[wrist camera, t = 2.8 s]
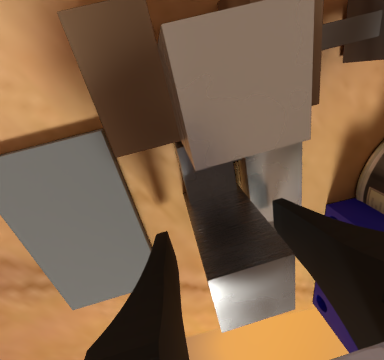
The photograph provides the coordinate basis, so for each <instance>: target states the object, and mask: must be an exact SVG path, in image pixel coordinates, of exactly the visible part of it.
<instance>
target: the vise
mask: <svg viewBox="0 0 384 360" xmlns="http://www.w3.org/2000/svg"><path fill="white" fill-rule="evenodd" d="M259 1H263V0H220V1H219V2H218V3H217V4H218V11H220V10H225V9H229V8H233V7H238V6H242V5H246V4H250V3H255V2H259ZM323 2H324V0H314V34H313V69H312V104H311V106H313V105H317V104H319V93H320V71H321V50H325V49H329V48H333V47H337V46H341V45H344V54H343V63H348V62H360V61H372V60H384V0H348V6H347V18H346V19H343V20H338V21H334V22H330V23H326V24H323ZM57 14H58V16H59V19H60V21H61V24H62V26H63V29H64V31H65V34H66V36H67V39H68V41H69V43H70V46H71V48H72V51H73V53H74V56H75V58H76V61H77V63H78V66H79V68H80V71H81V73H82V76H83V78H84V81H85V83H86V85H87V88H88V90H89V93H90V95H91V98H92V100H93V103H94V105H95V108H96V110H97V113H98V115H99V118H100V120H101V123H102V125H103V127H104V130H105V132H106V135H107V137H108V140H109V142H110V145H111V147H112V150H113V152H114V155H115V157H116V158H117V157H121V156H125V155H128V154H132V153H136V152H140V151H143V150H147V149H151V148H155V147H158V146H162V145H166V144H170V143H174V142H177V141H181V139H180V135H179V131H178V127H177V123H176V119H175V115H174V111H173V107H172V103H171V99H170V95H169V91H168V87H167V83H166V79H165V75H164V71H163V67H162V63H161V59H160V55H159V51H158V47H157V43H156V39H155V35H154V31H153V27H152V23H151V19H150V15H149V11H148V7H147V3H146V0H108V1H103V2H99V3H94V4H90V5H85V6H81V7H76V8H72V9H67V10H63V11H59V12H57Z"/></svg>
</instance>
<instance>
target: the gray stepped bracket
mask: <svg viewBox="0 0 384 360" xmlns="http://www.w3.org/2000/svg"><path fill="white" fill-rule="evenodd" d="M174 147H175V151H176V154H177V158H178V162H179V166H180V169H181V173H182V177H183V181H184V184H185V188H186V192H185V193H183V195H184V199H185V202H186V206H187V210H188V213H189V217H190V221H191V224H192V228H193V231H194V235H195V239H196V242H197V246H198V249H199V253H200V256H201V260H202V263H203V267H204V271H205V274H206V278H207V281H208V285H209V288H210V292H211V295H212V299H213V303H214V306H215V310H216V313H217V317H218V320H219V324H220V328H221V331H222V332H226V331H229V330H232V329H235V328H238V327H242V326H244V325H248V324H251V323H254V322H257V321H260V320H263V319H266V318H269V317H273V316H276V315H279V314H282V313H285V312H288V311H291V310H294V309H295V254H294V252H293V251H292V250H291V249H290V248H289V246H288V245H287V244H286V243H285V241H284V240H283V239H282V238H281V237H280V235H279V234H278V233H277V232H276V231H275V229H274V228H273V227H272V226H271V224H270V223H269V222H268V221H267V220H266V218H265V217H264V216H263V215H262V214H261V212H260V211H259V210H258V209H257V207H256V206H255V205H254V204H253V203H252V201H251V200H250V199H249V198H248V197H247V195H246V194H245V193H244V192H243V190H242V189H241V188H240V187H239V186H238V184H237V183H236V179H235V172H234V165H233V162H235V161H239V160H242V158H241V159H237V160H234V161H230V162H226V163H223V164H219V165H215V166H212V167H208V168H204V169H201V170H197V171H195V169H194V167H193V165H192V163H191V161H190V159H189V156H188V154H187V152H186V150H185V148H184V146H183V144H182V142H181V141H177V142H174Z"/></svg>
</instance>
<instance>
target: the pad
mask: <svg viewBox="0 0 384 360" xmlns="http://www.w3.org/2000/svg"><path fill="white" fill-rule="evenodd" d="M0 215H1V216H2V218H3V219H4V220H5V221H6V223H7V224H8V225H9V227H10V228H11V229H12V231H13V232H14V233H15V235H16V236H17V237H18V239H19V240H20V241H21V243H22V244H23V245H24V246H25V248H26V249H27V250H28V252H29V253H30V254H31V256H32V257H33V258H34V260H35V261H36V262H37V264H38V265H39V266H40V268H41V269H42V270H43V272H44V273H45V274H46V275H47V277H48V278H49V279H50V281H51V282H52V283H53V285H54V286H55V287H56V289H57V290H58V291H59V293H60V294H61V295H62V297H63V298H64V299H65V301H66V302H67V303H68V304H69V306H70V307H71V308H72V310H75V309H79V308H82V307H85V306H88V305H92V304H95V303H98V302H102V301H105V300H108V299H112V298H115V297H118V296H121V295H125V294H128V293H131V292H132V291H133V289H134V288H135V286H136V284H137V282H138V280H139V278H140V276H141V274H142V272H143V270H144V268H145V265H146V263H147V261H148V258H149V255H150V253H151V250H152V247H151V245H150V243H149V240H148V238H147V235H146V233H145V230H144V228H143V225H142V223H141V220H140V218H139V215H138V213H137V211H136V208H135V206H134V203H133V201H132V198H131V196H130V193H129V191H128V188H127V186H126V183H125V181H124V179H123V176H122V174H121V171H120V169H119V166H118V164H117V161H116V159H115V156H114V154H113V151H112V149H111V147H110V144H109V142H108V139H107V137H106V134H105V132H104V129H99V130H95V131H91V132H87V133H83V134H79V135H76V136H72V137H68V138H64V139H60V140H56V141H52V142H48V143H44V144H40V145H37V146H33V147H29V148H25V149H21V150H17V151H13V152H9V153H5V154H2V155H0Z"/></svg>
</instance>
